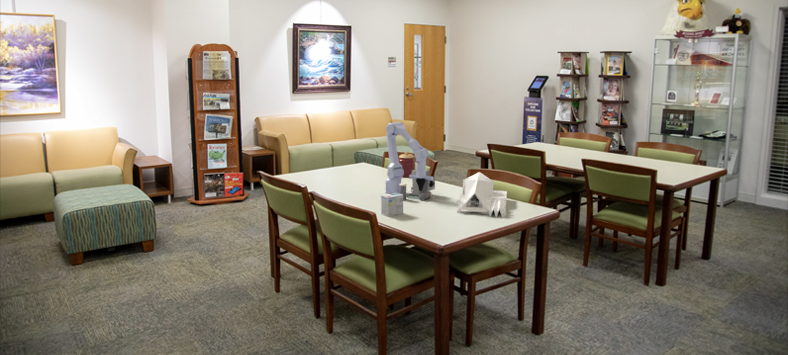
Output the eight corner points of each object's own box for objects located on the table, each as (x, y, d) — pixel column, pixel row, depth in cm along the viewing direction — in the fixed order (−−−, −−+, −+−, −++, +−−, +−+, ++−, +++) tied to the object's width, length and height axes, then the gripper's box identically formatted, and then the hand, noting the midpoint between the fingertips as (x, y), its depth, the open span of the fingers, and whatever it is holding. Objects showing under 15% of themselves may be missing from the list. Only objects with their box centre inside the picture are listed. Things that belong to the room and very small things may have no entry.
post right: (421, 192, 338) (428, 189, 345) (417, 197, 340) (424, 193, 347) (426, 197, 337) (432, 194, 344) (421, 202, 339) (428, 198, 346)
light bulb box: (396, 211, 315) (396, 192, 312) (403, 213, 309) (403, 194, 307) (380, 214, 308) (380, 194, 306) (388, 217, 303) (388, 197, 301)
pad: (407, 197, 346) (407, 197, 346) (409, 195, 351) (409, 195, 351) (420, 198, 343) (420, 198, 343) (423, 197, 347) (423, 196, 347)
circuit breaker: (429, 197, 346) (430, 173, 343) (411, 194, 355) (411, 170, 352) (436, 195, 351) (437, 171, 348) (418, 192, 360) (418, 168, 357)
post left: (398, 199, 340) (398, 184, 338) (400, 198, 344) (401, 183, 342) (404, 200, 339) (404, 185, 337) (407, 198, 342) (407, 183, 340)
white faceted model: (506, 218, 302) (507, 187, 299) (455, 215, 308) (456, 185, 304) (507, 200, 342) (508, 172, 339) (462, 197, 347) (463, 171, 344)
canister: (395, 174, 416) (395, 150, 412) (412, 173, 419) (412, 150, 415) (399, 178, 403) (400, 153, 400) (417, 177, 406) (417, 152, 403)
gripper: (407, 168, 341) (407, 190, 344) (430, 170, 335) (430, 193, 338) (411, 166, 347) (411, 188, 350) (434, 168, 342) (433, 190, 344)
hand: (420, 190), depth 344 cm, fingers closed
